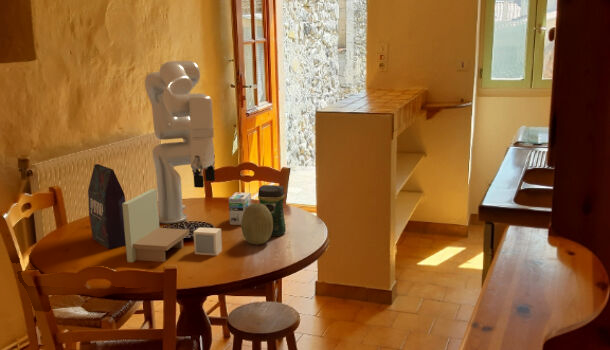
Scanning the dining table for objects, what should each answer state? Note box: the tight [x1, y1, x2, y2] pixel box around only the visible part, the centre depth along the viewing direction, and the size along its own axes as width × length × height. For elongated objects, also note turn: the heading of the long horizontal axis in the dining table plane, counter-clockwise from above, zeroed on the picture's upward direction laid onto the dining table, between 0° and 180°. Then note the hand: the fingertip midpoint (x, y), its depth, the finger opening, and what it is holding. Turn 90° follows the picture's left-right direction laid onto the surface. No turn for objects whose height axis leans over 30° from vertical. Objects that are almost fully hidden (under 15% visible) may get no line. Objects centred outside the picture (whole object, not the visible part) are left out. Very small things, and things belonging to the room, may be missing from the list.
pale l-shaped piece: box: [122, 188, 190, 263], centre depth 203 cm, size 20×14×20 cm
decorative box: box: [87, 163, 126, 250], centre depth 216 cm, size 8×16×28 cm, turn 40°
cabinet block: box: [193, 227, 223, 256], centre depth 205 cm, size 5×8×8 cm, turn 77°
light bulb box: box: [228, 191, 252, 226], centre depth 240 cm, size 11×7×11 cm, turn 171°
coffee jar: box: [257, 184, 287, 237], centre depth 223 cm, size 10×8×19 cm
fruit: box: [240, 202, 273, 246], centre depth 212 cm, size 11×11×15 cm
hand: (204, 183), depth 201 cm, fingers open, 9 cm apart
